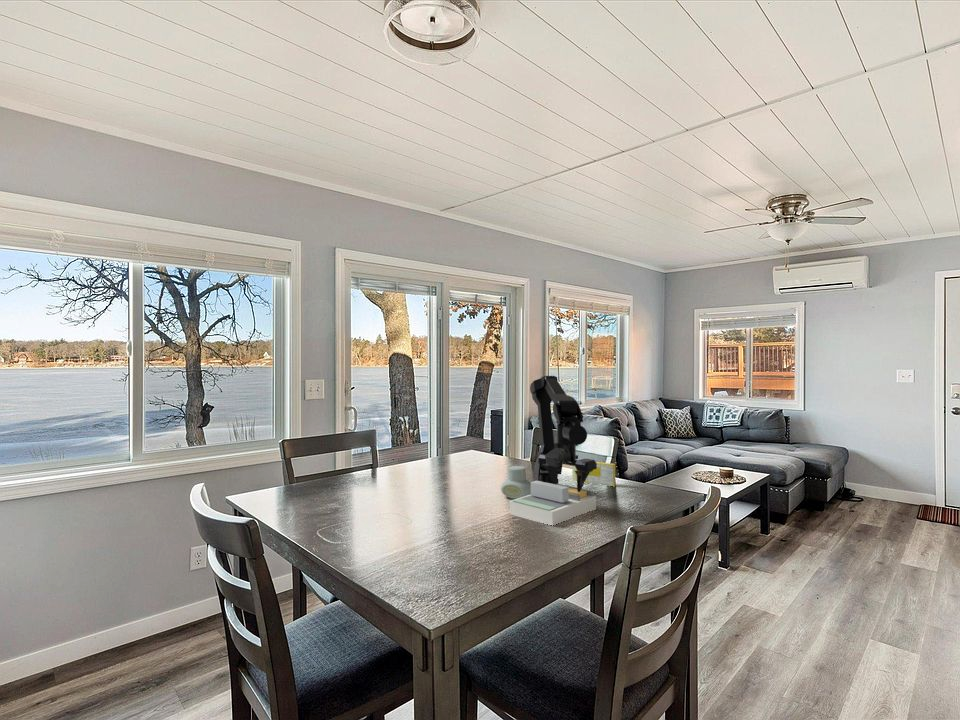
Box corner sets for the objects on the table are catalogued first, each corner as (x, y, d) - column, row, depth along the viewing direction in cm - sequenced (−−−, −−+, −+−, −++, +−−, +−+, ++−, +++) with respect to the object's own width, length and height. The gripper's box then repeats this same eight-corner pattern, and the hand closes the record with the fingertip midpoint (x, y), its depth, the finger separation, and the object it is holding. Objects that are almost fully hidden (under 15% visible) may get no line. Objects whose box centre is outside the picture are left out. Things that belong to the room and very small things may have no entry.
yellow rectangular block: (547, 491, 163) (547, 486, 163) (555, 489, 166) (555, 484, 166) (579, 498, 155) (579, 493, 155) (586, 496, 157) (586, 491, 157)
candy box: (616, 486, 186) (615, 463, 186) (614, 487, 184) (614, 464, 184) (574, 481, 195) (573, 459, 195) (571, 482, 193) (571, 460, 193)
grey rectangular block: (530, 495, 157) (530, 482, 157) (536, 493, 159) (536, 480, 159) (562, 502, 149) (562, 489, 149) (568, 500, 151) (568, 487, 151)
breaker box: (509, 514, 153) (509, 495, 153) (554, 499, 169) (554, 482, 169) (552, 526, 142) (552, 506, 142) (595, 509, 157) (595, 491, 157)
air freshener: (536, 496, 174) (536, 466, 173) (527, 502, 166) (527, 471, 166) (507, 492, 178) (507, 463, 178) (497, 498, 171) (497, 468, 171)
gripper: (526, 439, 161) (527, 488, 161) (576, 446, 148) (576, 499, 148) (548, 435, 169) (549, 482, 169) (597, 441, 156) (597, 492, 156)
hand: (566, 489), depth 160 cm, fingers open, 9 cm apart
